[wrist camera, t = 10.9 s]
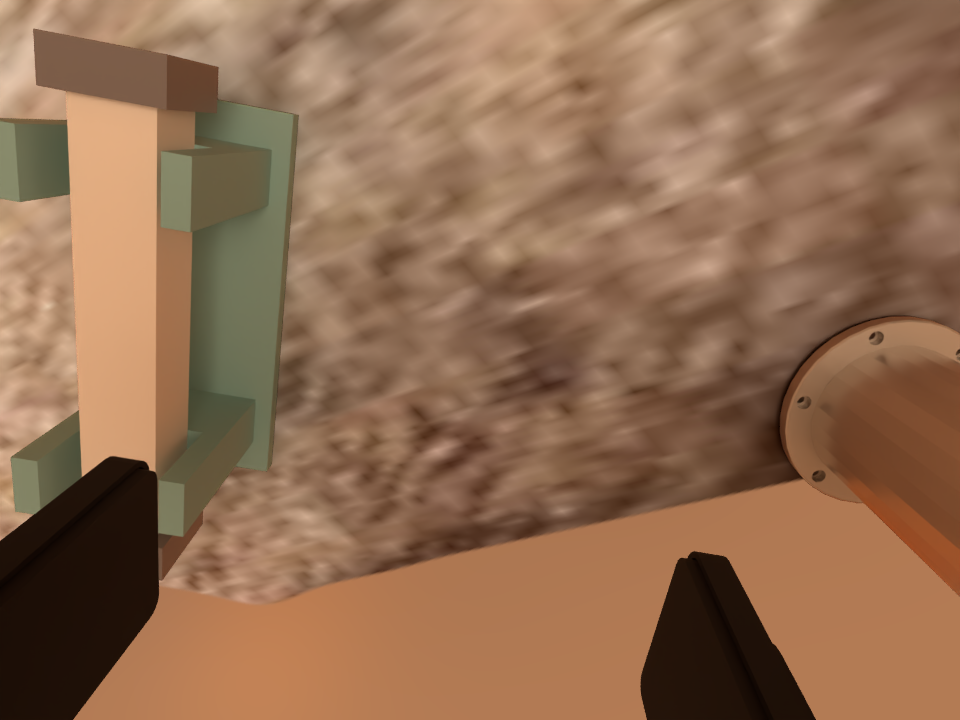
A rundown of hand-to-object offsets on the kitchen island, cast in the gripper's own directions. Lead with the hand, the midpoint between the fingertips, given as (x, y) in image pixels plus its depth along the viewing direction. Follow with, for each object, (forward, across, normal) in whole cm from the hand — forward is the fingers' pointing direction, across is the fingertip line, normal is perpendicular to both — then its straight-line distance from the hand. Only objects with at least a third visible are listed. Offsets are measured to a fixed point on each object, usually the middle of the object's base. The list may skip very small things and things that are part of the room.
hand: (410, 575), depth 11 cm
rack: (+27, +16, +4) cm, 32 cm away
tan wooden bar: (+22, +16, +4) cm, 27 cm away
